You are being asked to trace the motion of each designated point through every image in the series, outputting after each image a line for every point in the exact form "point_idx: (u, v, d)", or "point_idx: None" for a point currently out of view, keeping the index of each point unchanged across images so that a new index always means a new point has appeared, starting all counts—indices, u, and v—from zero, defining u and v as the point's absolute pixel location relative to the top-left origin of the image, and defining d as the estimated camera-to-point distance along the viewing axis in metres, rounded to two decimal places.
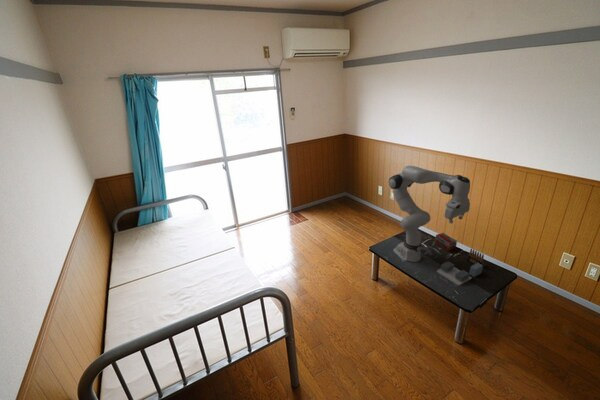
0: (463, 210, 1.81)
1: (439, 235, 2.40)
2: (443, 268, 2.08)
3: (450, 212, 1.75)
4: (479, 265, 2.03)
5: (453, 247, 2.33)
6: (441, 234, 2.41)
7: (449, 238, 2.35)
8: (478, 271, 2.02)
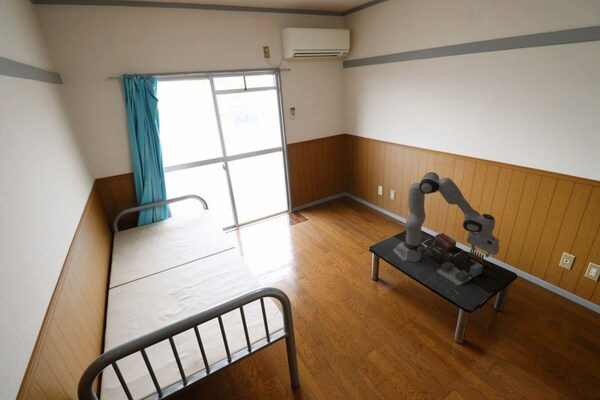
0: None
1: (439, 235, 2.40)
2: (443, 268, 2.08)
3: (498, 247, 1.87)
4: (479, 265, 2.03)
5: (452, 247, 2.32)
6: (441, 234, 2.41)
7: (449, 238, 2.35)
8: (478, 271, 2.02)
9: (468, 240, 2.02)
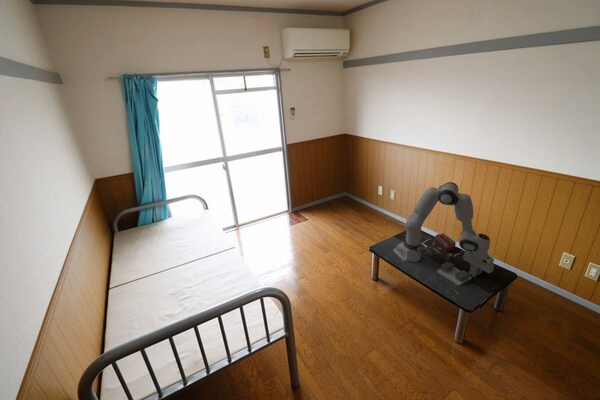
0: None
1: (439, 235, 2.40)
2: (443, 268, 2.08)
3: (493, 266, 1.94)
4: None
5: (452, 248, 2.32)
6: (441, 234, 2.41)
7: (448, 239, 2.34)
8: None
9: (464, 257, 2.08)
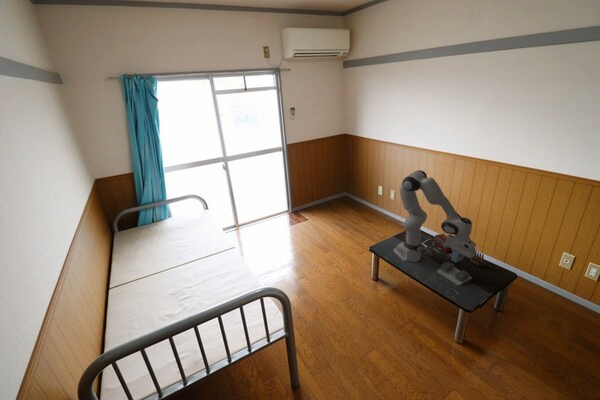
0: None
1: (438, 235, 2.40)
2: (443, 268, 2.08)
3: (474, 250, 1.88)
4: None
5: (451, 248, 2.31)
6: (441, 235, 2.40)
7: None
8: None
9: (446, 243, 2.03)
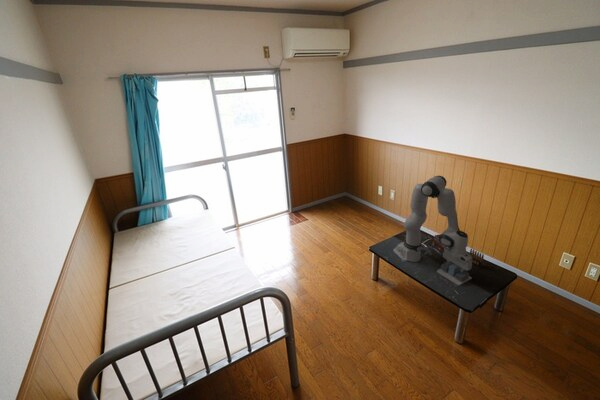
0: None
1: (438, 236, 2.39)
2: (443, 268, 2.08)
3: (471, 263, 1.92)
4: None
5: None
6: None
7: None
8: (456, 270, 2.02)
9: (444, 255, 2.07)
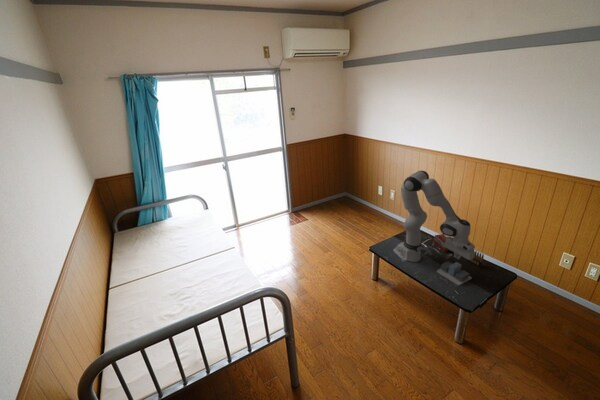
0: None
1: (438, 236, 2.39)
2: (443, 268, 2.08)
3: (474, 252, 1.88)
4: (458, 264, 2.03)
5: None
6: (440, 235, 2.40)
7: None
8: (456, 270, 2.02)
9: (445, 245, 2.03)
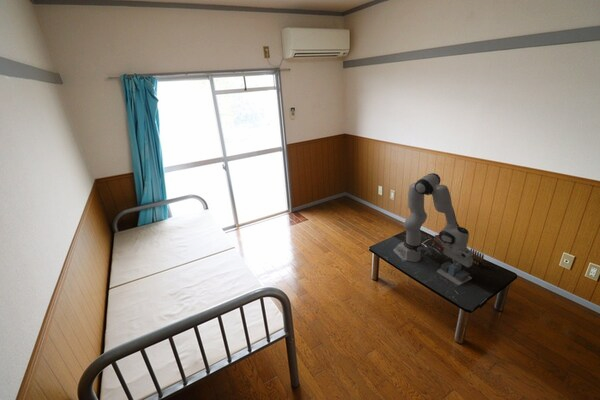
0: None
1: (438, 236, 2.39)
2: (443, 268, 2.08)
3: (472, 260, 1.91)
4: None
5: None
6: None
7: None
8: (456, 270, 2.02)
9: (444, 252, 2.06)
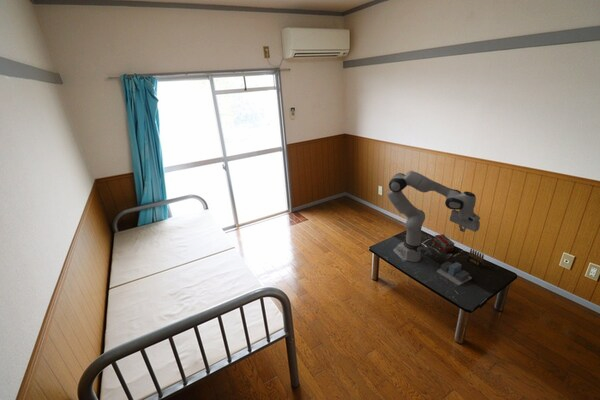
0: None
1: (438, 236, 2.39)
2: (443, 268, 2.08)
3: (479, 224, 1.91)
4: (458, 264, 2.03)
5: (450, 249, 2.31)
6: (440, 235, 2.40)
7: (447, 240, 2.33)
8: (456, 270, 2.02)
9: (451, 218, 2.05)
